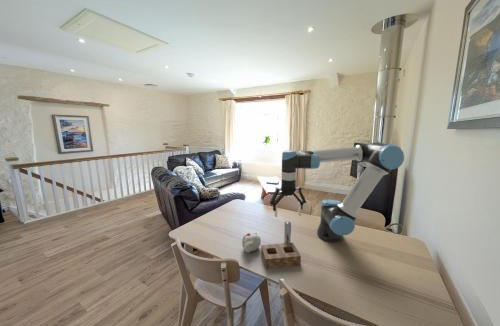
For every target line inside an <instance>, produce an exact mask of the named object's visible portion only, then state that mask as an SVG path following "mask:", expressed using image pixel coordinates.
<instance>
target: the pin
mask: <svg viewBox="0 0 500 326" xmlns="http://www.w3.org/2000/svg"><path fill="white" fill-rule="evenodd" d="M283 230H284V235H283V241H284V242H283V243H292V242H291V240H292V237H291V236H292V235H291V234H292V222H291V221H288V220H287V221H284V229H283Z"/></svg>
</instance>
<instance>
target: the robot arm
mask: <svg viewBox="0 0 500 326" xmlns="http://www.w3.org/2000/svg"><path fill="white" fill-rule="evenodd" d="M404 153H405V152H404V151H403V150H402V148H401V147H399V146H398V145H394V144H391V143H383V142H371V143H370V142H369V143H363V144H357V145H355V146H352V147H338V148H327V149H326V148H324V149H315V150H299V151H298V152H297V151H296V150H292V149H290V150H287V149H286V150H284V151H282V154H281V187H275V191H274V193H273V195H272V196H271V199H270V201H269V204H270V206H272V210H273V212H274V217H275V218H278V203H279V202H281V200H282V199H283V198H284V197H288V196H290V197H292V196H293V197H294V198H295V199H296V200H297V202H298V203H297V215H298V216H302V210H303V209H304V205H305V204H307V200H306V198H305V196H304V194H303V192H302V188H301V186H299V185H298V186H297V187H296V177H297V169H303V170H304V169H306V170H307V169H309V170H313V169H314V170H315V169H319V168H320V164H321V163H332V162H344V161H346V162H347V161H357V162H365V164H366V167H365V168H364V170H363V171H362V173H361V174H360V176H359V177H358V178H357V180H356V182H355V183H354V185H353V186H352V187H351V188H350V189H349V192H348V193H347V195H346V196H345V197H344V199H343V201H342V202H341V201H340V200H336V199H323V200H322V201H321V205H320V206H321V207H320V222H319V225H318V227H317V230H316V234H317V236H318V238H320V239H321V240H324V241H326V242H332V243H336V242H337V243H338V242H340V241H342V240H343V236H344V237H345V236H348V235H350V234H352V233H353V232H354V230H355V226H356V225H355V221H356V219H357V218H358V214H357V213H358V212H359V210H360V209H361V207H362V205H364V203H365V202H366V200H367V199H368V198H369V196H370V195H371V193H372V192H373V191H374V189H375V187H376V186H377V185H378V183H380V181H381V180H382V178H383V177H384V176H385V175H389V174H390V173H391V172H392V170H396V169H398V168H400V167H401V166H402V165H403V163H404V162H405V154H404ZM280 191H281V192H280ZM296 191H297V192H298V194H299V196H300V198H299V196H298V195H297V194H296V193H295V192H296ZM279 193H280V194H279Z"/></svg>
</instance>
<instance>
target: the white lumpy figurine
mask: <svg viewBox="0 0 500 326" xmlns="http://www.w3.org/2000/svg"><path fill="white" fill-rule="evenodd" d="M241 241H242V242H241V244H242V245H241V246H242V247H243V249H244V251H245V253H247V254H248V253H251V252H255V251H257V250H258V249H259V247H260V246H261V245H262V244H261V241H262V240H261V236H260V235H258V233H257V232H253V233H250V232H248V233H247V234H245V235H243V238H242V240H241Z"/></svg>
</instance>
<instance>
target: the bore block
mask: <svg viewBox="0 0 500 326" xmlns="http://www.w3.org/2000/svg"><path fill="white" fill-rule="evenodd" d="M260 246H261V247H260V248H261V250H260V252H261V258H262V260H263V265H264V268H265V269H272V268H283V267H284V268H285V267H292V266H301V263H302V262H301V261H302V260H301V259H302V255H301V254H300V252H299V251H298V249H297V247H296V245H295V243H294V242H291V243H284V242H282V243H271V244H260Z"/></svg>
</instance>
